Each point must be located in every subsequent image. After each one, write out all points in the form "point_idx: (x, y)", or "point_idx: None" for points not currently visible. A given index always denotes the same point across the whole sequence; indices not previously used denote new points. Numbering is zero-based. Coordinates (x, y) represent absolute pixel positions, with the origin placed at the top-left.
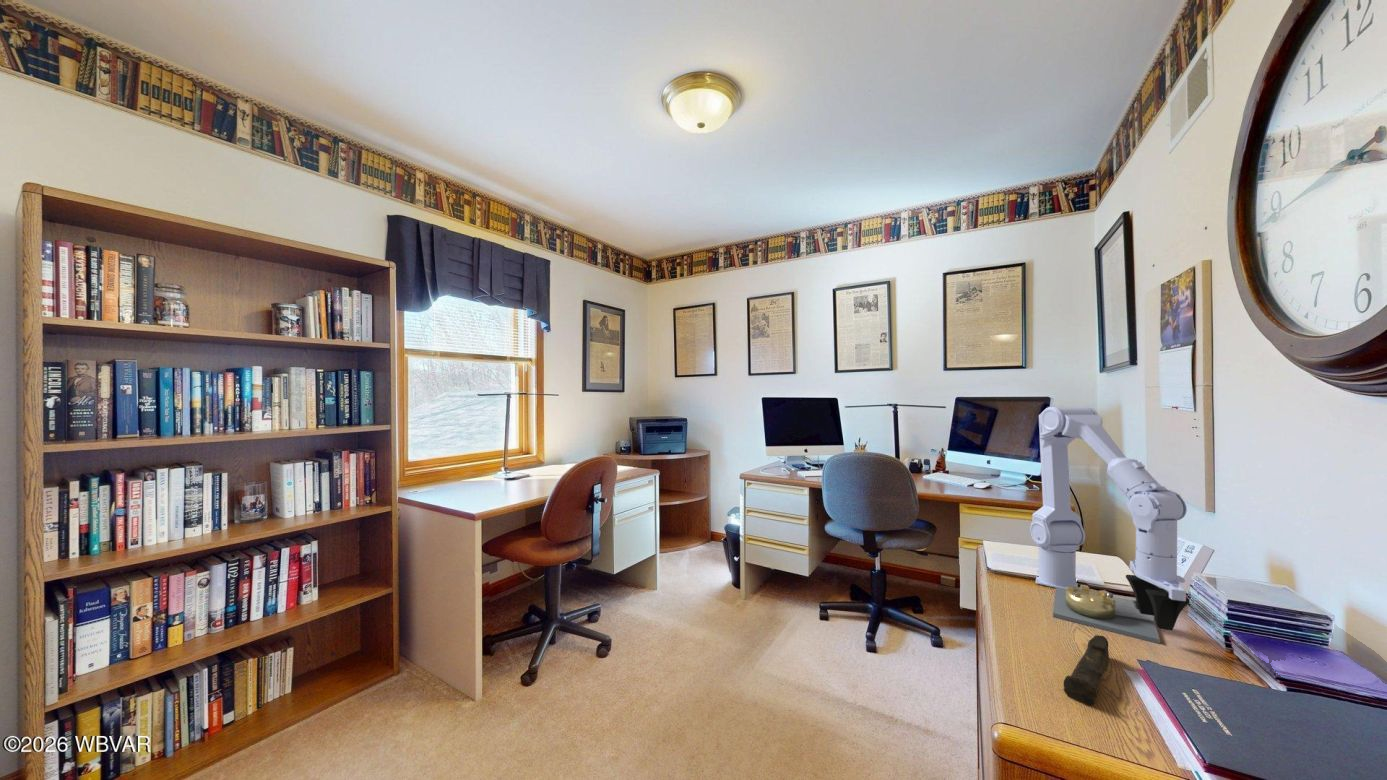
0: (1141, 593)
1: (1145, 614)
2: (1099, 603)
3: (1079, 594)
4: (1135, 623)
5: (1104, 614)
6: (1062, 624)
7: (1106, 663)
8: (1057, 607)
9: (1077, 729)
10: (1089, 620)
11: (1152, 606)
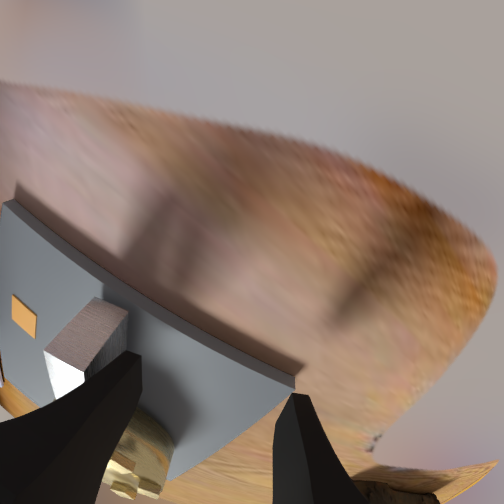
0: (98, 471)
1: (141, 380)
2: (162, 488)
3: (128, 494)
4: (164, 377)
5: (169, 452)
6: (208, 479)
7: (391, 495)
8: None
9: (445, 495)
10: (188, 459)
11: (121, 396)
